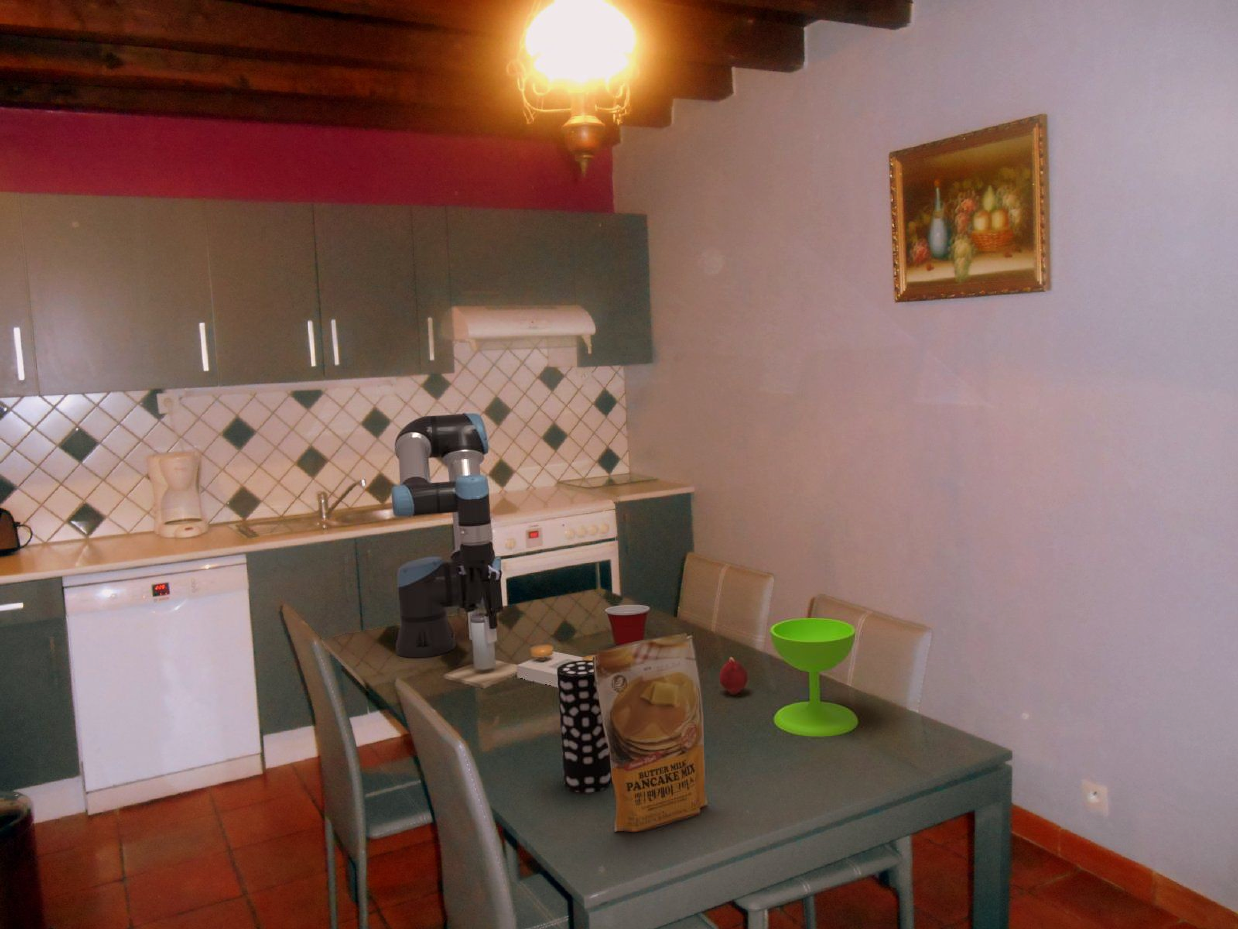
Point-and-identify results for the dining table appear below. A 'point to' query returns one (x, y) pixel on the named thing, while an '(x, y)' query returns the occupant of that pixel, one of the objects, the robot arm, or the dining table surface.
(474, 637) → the cylinder
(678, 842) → the dining table surface
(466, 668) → the board
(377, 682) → the dining table surface
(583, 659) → the plunger right
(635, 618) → the plastic cup
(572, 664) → the white-spotted black cylinder
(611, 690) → the pancake mix bag
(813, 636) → the wineglass
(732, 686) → the onion
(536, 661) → the block
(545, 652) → the plunger left
